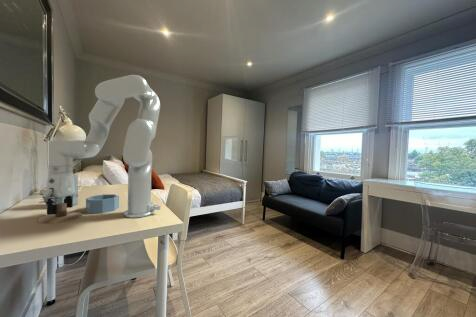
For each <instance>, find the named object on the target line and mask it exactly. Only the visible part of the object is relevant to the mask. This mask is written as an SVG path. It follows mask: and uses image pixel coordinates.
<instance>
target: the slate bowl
mask: <svg viewBox="0 0 476 317" xmlns="http://www.w3.org/2000/svg"><path fill="white" fill-rule="evenodd" d="M119 202H120V196H119V195H118V194H106V193H105V194H97V195H96V194H95V195H92V196H89V197H87V198H85V212H87V213H89V214H105V213H110V212H113V211H116V210H117V209H119V207H120V204H119Z"/></svg>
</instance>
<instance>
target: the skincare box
mask: <svg viewBox="0 0 476 317" xmlns="http://www.w3.org/2000/svg"><path fill="white" fill-rule="evenodd" d="M73 175H74V183H75V193H74V195H73V196H74V197H73V206H75V205H78V204H79V183H78V182H79V177H78V176H79V175H78V174H74V173H73ZM64 198H65V197H64ZM64 198H58V200H57V202H56V204H59V203H64ZM52 200H54V199H52Z"/></svg>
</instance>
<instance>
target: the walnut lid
mask: <svg viewBox="0 0 476 317" xmlns="http://www.w3.org/2000/svg"><path fill="white" fill-rule="evenodd" d="M81 216H82V212H81V211H78V210H72V211H71V210H68V208H67V203H59V204H57V214H45V215H41V216H39V217H38V218H37V222H38V223H39V224H58V223H65V222H69V221H73V220H76V219H78V218H80V217H81Z"/></svg>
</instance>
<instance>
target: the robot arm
mask: <svg viewBox="0 0 476 317" xmlns="http://www.w3.org/2000/svg"><path fill="white" fill-rule="evenodd" d="M94 94H95V97H96V98H97V101H96V103H95V105H94V106H93V107H92V109H91V111H90V112H89V114H88V120H89V124H90V128H89V129H90V130H89V132H88V135H86V138H85V139H84V140H80V139H79V140H78V139H76V140H63V139H52V140H49V141H48V144H47V145H48V146H47V147H48V150H47V151H48V152H47V153H48V163H47V164H48V166H47V167H48V172H47V173H48V176H47V180H46V191H45V193H44V194H43V195H42V198H43V202H45V203H44V204H45V205H46V215H48V214H57V204H56V202H57V200H58V198H64V197H65V198H64V203H67V209H68V208H69V209H70V208H73V206H74V205H73V197H74V196H73V195H74V193H75V183H74V175H73V174H74V172H73V163H74V162H73V159H88V158H93V157H95V156H97V154H99V153H100V151H101V149H102V148H103V147H104V144H105V143H106V141H107V138H108V136H109V132H110V128H111V126H112V123H113V122H114V120H115V118H116V117H117V115H118V113H119V112H120V110H121V109H122V108H123V106H124V103H125V100H127V99H130V98H134V99H135V100H137V101H139V103H140V106H139V109H138V115H137V118H136V119H133V121H131V122H130V124H129V126H128V127H127V131H126V135H125V140H124V144H123V150H122V158H123V159H122V160H123V161H124V163H125V164H126V165H127V166H128V171H127V174H128V175H127V209H126V210H125V211H124V212H123V216H124V217H126V218H130V219H131V218H135V219H137V218H144V217H148V216H151V215H153V214H154V213H155V211H160V210H161V205H160V204H153V201H152V170H153V168H152V167H153V152H152V150H151V149H150V148H151V144H152V141H153V140H154V139H155V137H156V134H157V128H158V123H159V117H160V111H161V101H160V99H159V96H158V94H157V93H156V92H155V91H154V90H153V89H152V88H151V87H150V85H149V84H148V82H147V80H146V79H145V78H144V77H142V76H141V75H140V74H139V75H137V74H129V75H124V76H120V77H116V78H112V79H108V80H104V81H102V82H100V83H98V84H97V85H96V86H95V88H94ZM52 199H54V200H52Z"/></svg>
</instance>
